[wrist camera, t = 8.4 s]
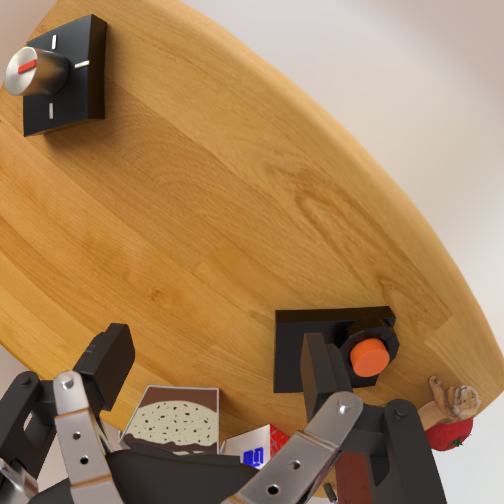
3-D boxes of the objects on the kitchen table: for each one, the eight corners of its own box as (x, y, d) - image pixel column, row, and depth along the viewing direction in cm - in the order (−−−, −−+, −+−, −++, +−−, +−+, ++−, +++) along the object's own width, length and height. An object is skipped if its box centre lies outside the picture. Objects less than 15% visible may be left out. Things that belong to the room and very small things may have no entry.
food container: (151, 411, 37) (133, 467, 27) (138, 383, 34) (114, 443, 25) (236, 416, 36) (231, 478, 27) (231, 387, 34) (223, 456, 24)
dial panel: (43, 46, 19) (25, 42, 16) (108, 22, 19) (92, 12, 16) (41, 134, 23) (21, 137, 20) (106, 118, 22) (88, 118, 20)
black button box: (275, 307, 29) (277, 332, 25) (391, 303, 29) (405, 325, 25) (273, 379, 33) (273, 405, 29) (372, 373, 32) (380, 396, 29)
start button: (353, 339, 26) (357, 351, 24) (387, 336, 26) (393, 347, 24) (346, 366, 27) (350, 378, 26) (379, 363, 27) (384, 374, 26)
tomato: (471, 390, 35) (490, 423, 28) (450, 421, 38) (464, 453, 31) (431, 400, 35) (449, 438, 28) (411, 432, 39) (424, 467, 31)
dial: (36, 101, 19) (1, 101, 14) (37, 62, 17) (4, 56, 13) (68, 90, 19) (33, 86, 14) (70, 48, 17) (37, 38, 13)
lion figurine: (452, 353, 32) (482, 398, 23) (461, 369, 33) (488, 411, 25) (367, 413, 36) (381, 463, 27) (382, 424, 37) (396, 470, 29)
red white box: (257, 458, 41) (256, 497, 33) (226, 439, 38) (221, 482, 31) (299, 444, 39) (303, 486, 31) (270, 423, 36) (270, 471, 29)
